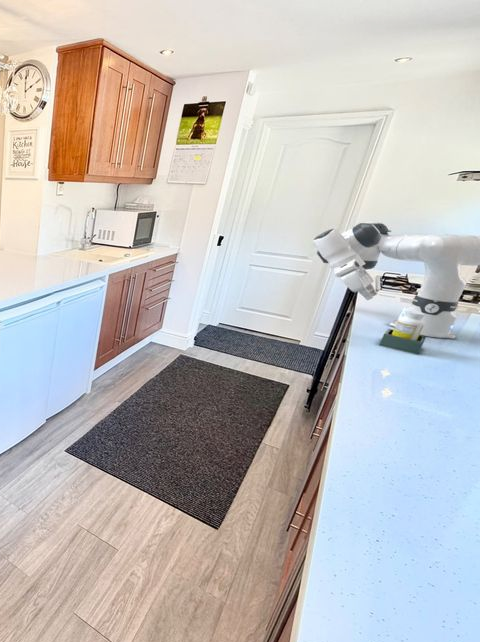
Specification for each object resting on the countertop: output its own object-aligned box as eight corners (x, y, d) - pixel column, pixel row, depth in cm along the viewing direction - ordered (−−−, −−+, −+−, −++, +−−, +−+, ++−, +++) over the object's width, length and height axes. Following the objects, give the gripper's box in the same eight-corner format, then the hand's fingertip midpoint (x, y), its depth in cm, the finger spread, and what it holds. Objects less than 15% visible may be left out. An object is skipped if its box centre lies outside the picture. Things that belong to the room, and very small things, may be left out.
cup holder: (383, 339, 155) (388, 328, 153) (420, 347, 148) (426, 336, 146) (379, 345, 149) (384, 333, 147) (417, 354, 142) (423, 342, 140)
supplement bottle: (401, 342, 151) (417, 310, 146) (418, 349, 145) (435, 315, 140) (382, 341, 152) (397, 308, 147) (398, 347, 146) (414, 314, 141)
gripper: (344, 268, 163) (367, 297, 160) (333, 274, 151) (357, 305, 148) (363, 259, 158) (387, 289, 155) (353, 264, 146) (378, 296, 143)
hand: (372, 297), depth 151 cm, fingers open, 8 cm apart
